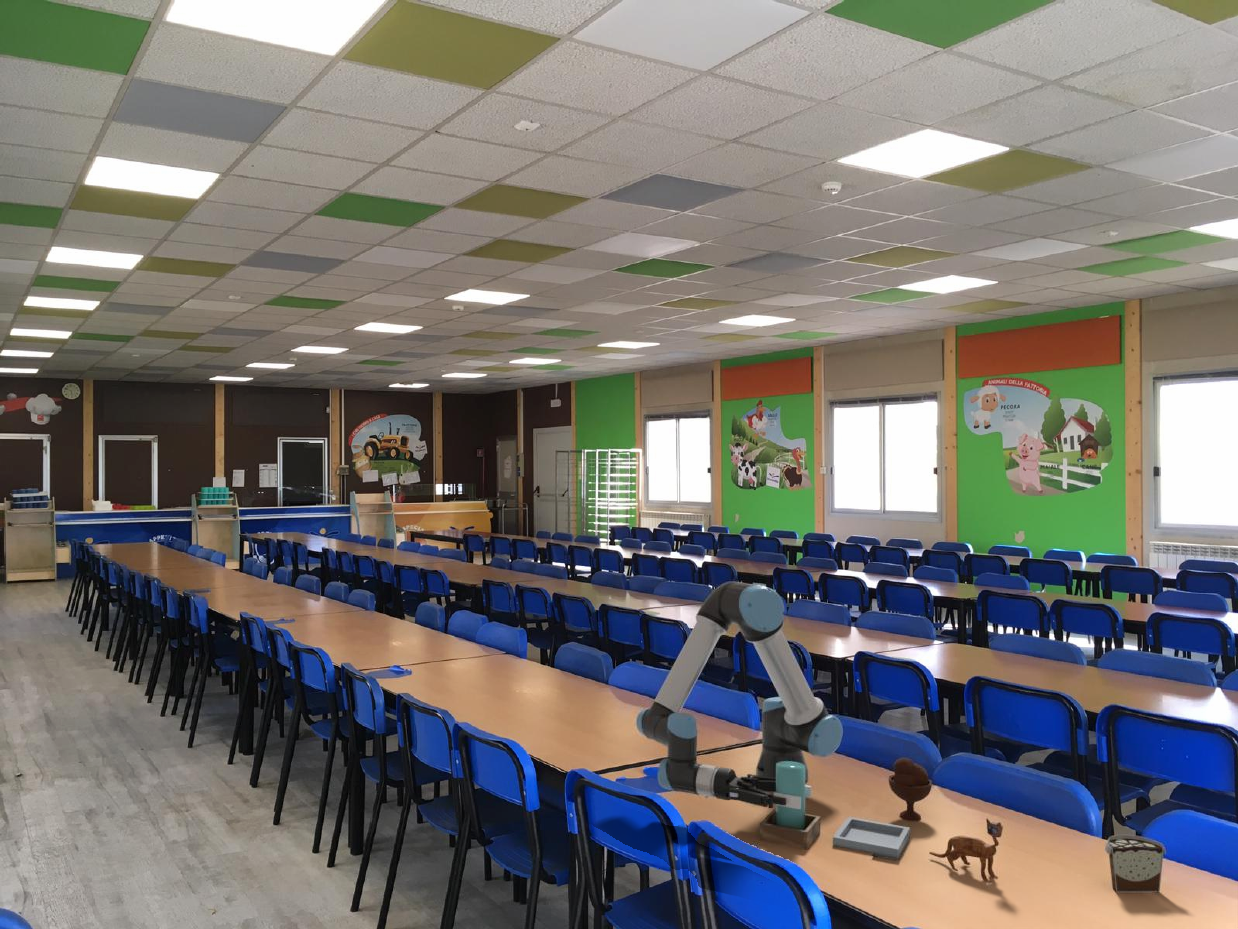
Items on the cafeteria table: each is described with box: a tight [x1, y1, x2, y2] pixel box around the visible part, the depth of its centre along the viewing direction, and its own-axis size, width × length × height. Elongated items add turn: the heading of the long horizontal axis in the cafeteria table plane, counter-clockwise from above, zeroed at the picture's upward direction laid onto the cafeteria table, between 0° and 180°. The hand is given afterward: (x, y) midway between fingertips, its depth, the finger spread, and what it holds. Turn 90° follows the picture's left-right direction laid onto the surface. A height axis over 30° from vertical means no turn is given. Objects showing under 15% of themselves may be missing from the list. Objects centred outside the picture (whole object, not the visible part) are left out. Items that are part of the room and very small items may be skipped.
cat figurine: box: [929, 818, 1004, 883], centre depth 204 cm, size 18×6×13 cm, turn 41°
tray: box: [832, 816, 911, 861], centre depth 219 cm, size 15×15×2 cm
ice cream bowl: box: [888, 757, 933, 822], centre depth 236 cm, size 11×11×15 cm
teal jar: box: [775, 761, 806, 831], centre depth 221 cm, size 7×7×17 cm
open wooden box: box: [759, 807, 821, 850], centre depth 221 cm, size 12×12×4 cm
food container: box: [1104, 834, 1167, 894], centre depth 196 cm, size 12×6×10 cm, turn 92°
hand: (805, 797), depth 219 cm, fingers open, 8 cm apart
